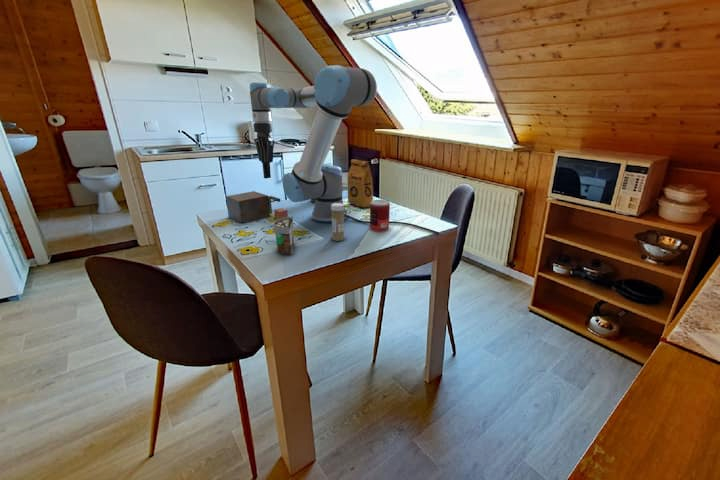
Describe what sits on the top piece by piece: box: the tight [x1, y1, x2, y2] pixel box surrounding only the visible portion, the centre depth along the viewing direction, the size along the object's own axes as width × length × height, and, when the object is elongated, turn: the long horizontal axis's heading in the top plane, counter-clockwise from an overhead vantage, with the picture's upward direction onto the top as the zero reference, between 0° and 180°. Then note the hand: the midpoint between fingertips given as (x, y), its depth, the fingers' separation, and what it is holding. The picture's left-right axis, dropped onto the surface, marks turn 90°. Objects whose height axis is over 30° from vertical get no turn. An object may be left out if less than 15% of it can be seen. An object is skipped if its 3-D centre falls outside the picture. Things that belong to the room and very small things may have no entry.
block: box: [274, 208, 289, 220], centre depth 150 cm, size 4×4×4 cm
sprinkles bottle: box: [331, 203, 345, 242], centre depth 126 cm, size 5×5×13 cm
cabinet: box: [225, 190, 271, 224], centre depth 152 cm, size 14×12×10 cm
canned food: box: [369, 199, 391, 232], centre depth 138 cm, size 8×8×11 cm
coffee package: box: [346, 159, 374, 209], centre depth 169 cm, size 10×12×22 cm
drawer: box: [268, 195, 281, 215], centre depth 155 cm, size 18×10×8 cm, turn 136°
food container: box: [272, 216, 295, 256], centre depth 117 cm, size 12×6×10 cm, turn 5°
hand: (267, 177), depth 155 cm, fingers closed
